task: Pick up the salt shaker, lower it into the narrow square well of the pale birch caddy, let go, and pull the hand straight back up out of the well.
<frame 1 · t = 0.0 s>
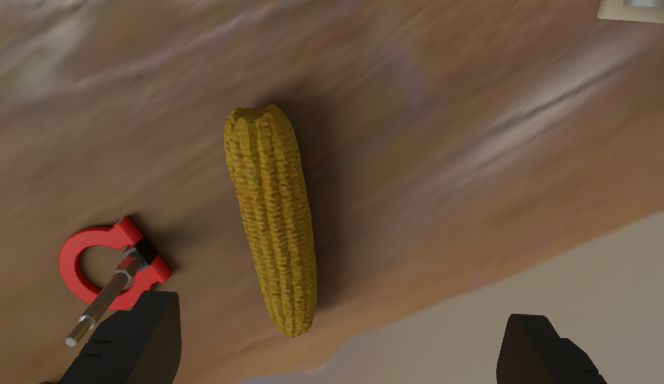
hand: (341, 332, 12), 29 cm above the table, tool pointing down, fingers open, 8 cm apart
food: (283, 213, 44), on the table
tow hook: (114, 263, 46), on the table
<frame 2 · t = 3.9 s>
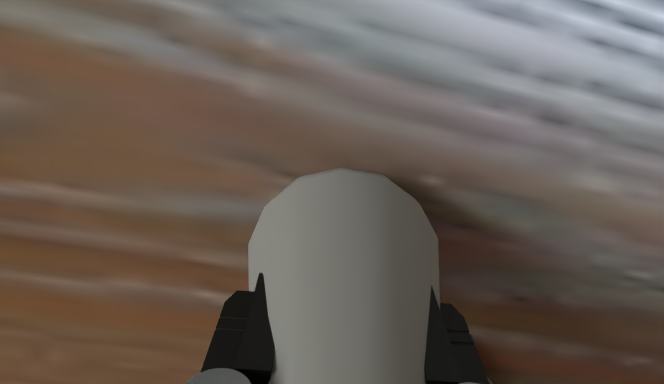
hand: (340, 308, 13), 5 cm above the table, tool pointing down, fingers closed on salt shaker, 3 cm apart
salt shaker: (341, 222, 18), on the table, touching gripper
when the fingers open (8 cm above the table, at t = 9.3 s): salt shaker drops 1 cm, resting on caddy.
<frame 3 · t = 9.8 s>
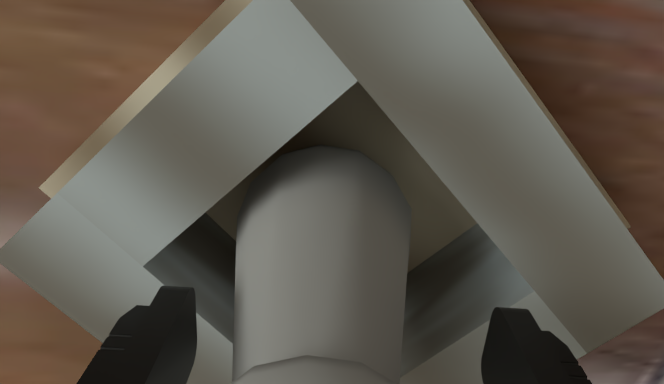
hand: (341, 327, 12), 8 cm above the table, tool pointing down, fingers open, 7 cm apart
caddy: (338, 195, 20), on the table
salt shaker: (325, 199, 19), point 1 cm above the table, touching caddy
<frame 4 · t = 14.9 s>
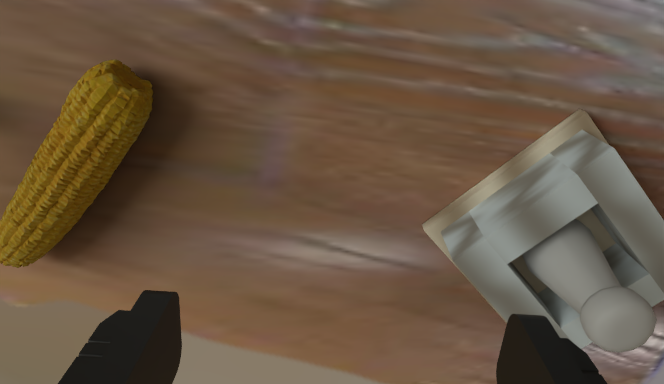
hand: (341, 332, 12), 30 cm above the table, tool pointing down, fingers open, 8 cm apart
food: (86, 162, 43), on the table
caddy: (547, 232, 45), on the table
salt shaker: (546, 235, 44), point 1 cm above the table, touching caddy
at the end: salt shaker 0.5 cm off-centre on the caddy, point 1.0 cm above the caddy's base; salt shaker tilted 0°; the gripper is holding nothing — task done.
